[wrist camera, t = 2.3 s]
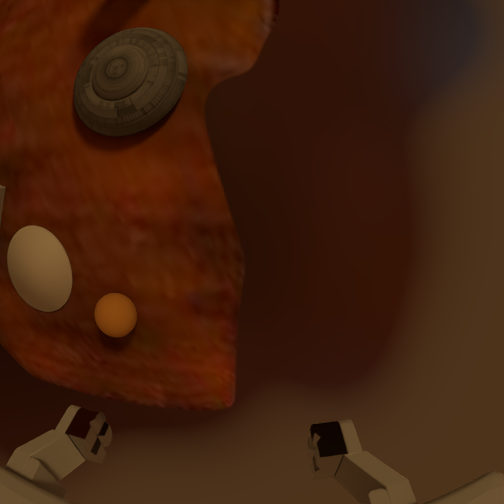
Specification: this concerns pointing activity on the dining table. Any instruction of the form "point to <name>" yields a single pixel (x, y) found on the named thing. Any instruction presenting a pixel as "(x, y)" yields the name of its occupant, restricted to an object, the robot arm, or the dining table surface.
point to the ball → (115, 315)
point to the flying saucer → (130, 81)
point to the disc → (39, 268)
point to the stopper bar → (1, 199)
